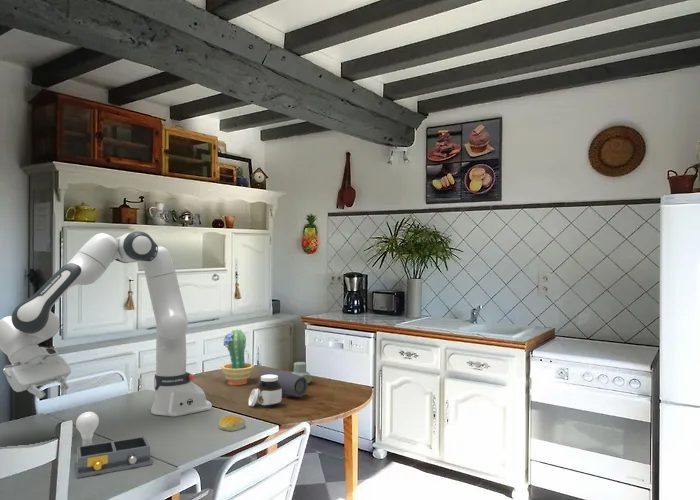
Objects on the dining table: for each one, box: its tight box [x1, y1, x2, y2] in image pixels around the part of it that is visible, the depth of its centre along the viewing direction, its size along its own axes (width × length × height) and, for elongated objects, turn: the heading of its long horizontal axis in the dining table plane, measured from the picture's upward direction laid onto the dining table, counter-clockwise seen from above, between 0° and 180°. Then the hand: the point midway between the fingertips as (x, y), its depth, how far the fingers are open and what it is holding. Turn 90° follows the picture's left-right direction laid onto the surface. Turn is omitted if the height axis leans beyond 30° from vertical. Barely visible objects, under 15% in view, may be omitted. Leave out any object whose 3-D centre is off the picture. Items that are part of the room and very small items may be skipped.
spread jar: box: [248, 374, 283, 409], centre depth 204 cm, size 12×11×12 cm
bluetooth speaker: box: [258, 368, 309, 398], centre depth 221 cm, size 23×9×10 cm, turn 50°
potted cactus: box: [221, 329, 255, 386], centre depth 241 cm, size 15×15×25 cm
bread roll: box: [218, 415, 246, 432], centre depth 178 cm, size 8×9×4 cm
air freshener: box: [291, 361, 312, 384], centre depth 239 cm, size 11×8×10 cm
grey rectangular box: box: [75, 435, 153, 479], centre depth 146 cm, size 19×12×4 cm, turn 120°
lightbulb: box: [75, 411, 100, 446], centre depth 157 cm, size 6×6×11 cm
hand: (54, 392), depth 160 cm, fingers open, 8 cm apart
